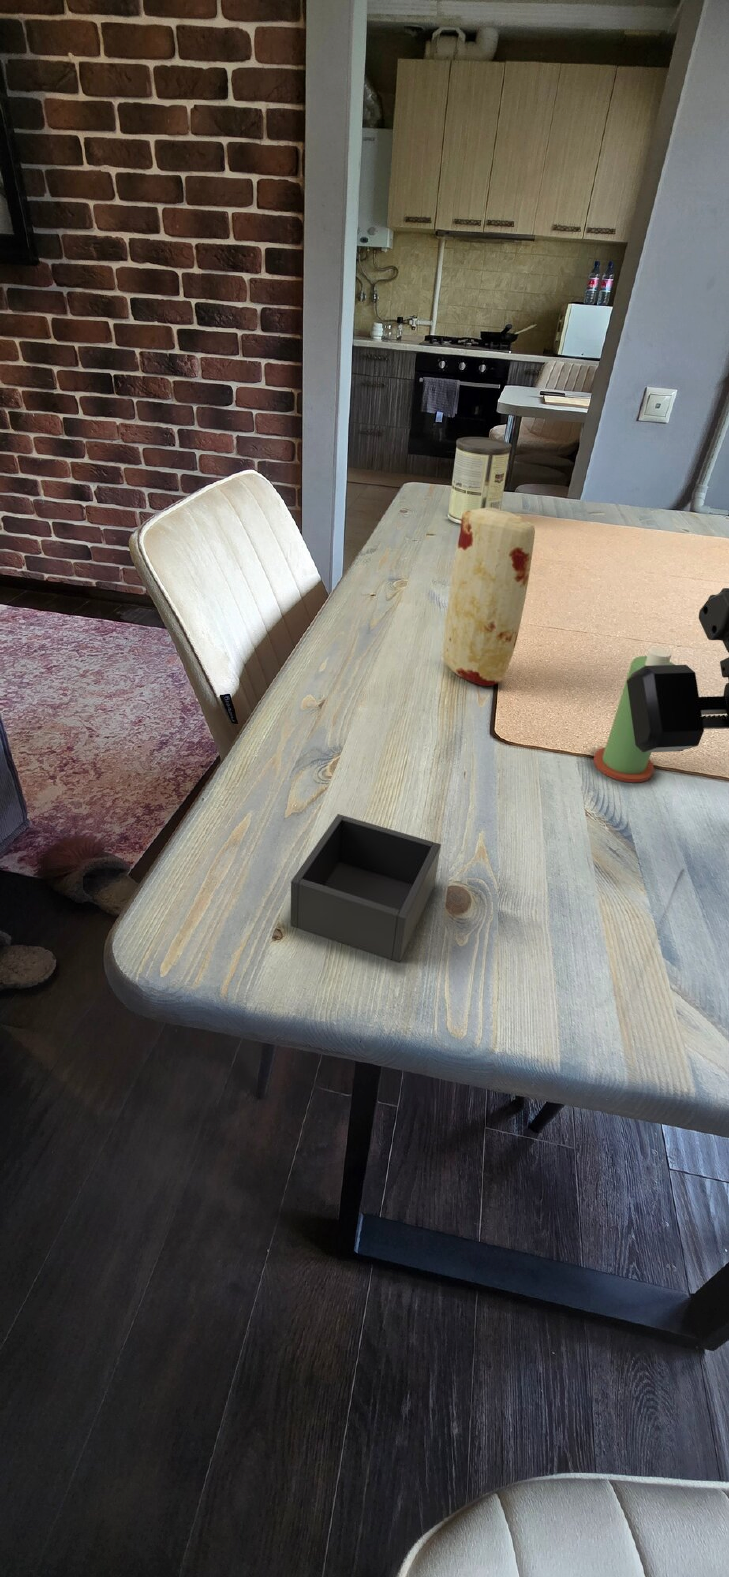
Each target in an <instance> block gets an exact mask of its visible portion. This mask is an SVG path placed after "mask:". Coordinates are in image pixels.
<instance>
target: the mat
mask: <svg viewBox="0 0 729 1577" xmlns="http://www.w3.org/2000/svg"><path fill="white" fill-rule="evenodd" d="M605 748H606V746H605V747H601V748H600V749H598V750H597V751H596V752H595V753H594V758H593V764H594V766H595V767H596V769H597V770H598V771H599V772H600V773H602V774H603V775H605V776H607V777H608V778H611V779H613V780H615V781H619V782H624V783H632V784H634V783H635V784H637V783H642V782H645V781H648V780H649V779H651V777H653V774H654V771H655V767H654V764H653V762H652V761H651V759H649V761H648V764H647V766H646V769H645V770H644V771H643V772H642V773H639V774H625V773H621V772H618V771H615V770H613V769H611V768H610V767H608V766H607V765H606V764H605V763H604V761H603V754H604V751H605Z"/></svg>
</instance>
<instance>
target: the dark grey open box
mask: <svg viewBox="0 0 729 1577" xmlns="http://www.w3.org/2000/svg"><path fill="white" fill-rule="evenodd" d="M441 848H442V844H441V843H439V842H434V841H432V840H429V839H425V838H421V837H418V836H414V835H411V834H408V833H404V832H401V831H398V830H394V829H391V828H387V827H384V826H381V825H378V824H373V823H370V822H367V821H364V820H360V819H357V818H353V817H350V816H348V815H347V816H346V815H343V814H340V813H337V815H336V816H335V817H334V818H333V820H332V822H331V823H330V824H329V826H328V827H327V829H326V830H325V832H324V833H323V834H322V836H321V837H320V839H319V840H318V842H317V843H316V844H315V846H314V847H313V849H312V850H311V852H310V853H309V855H308V856H307V857H306V858H305V860H304V862H303V863H302V865H301V866H300V868H299V869H298V870H297V872H296V873H295V875H294V876H293V877H292V879H291V880H290V927H293V928H296V929H298V930H302V931H304V932H308V933H311V934H313V935H316V936H319V937H323V938H325V939H328V940H330V941H334V942H337V943H340V944H342V945H346V946H348V947H352V948H354V949H357V950H360V951H363V952H366V953H369V954H372V955H374V956H377V957H380V958H383V959H386V960H389V961H391V962H395V963H398V964H400V963H401V961H402V959H403V956H404V954H405V952H406V950H407V947H408V946H409V943H410V941H411V939H412V937H413V934H414V932H415V930H416V928H417V925H418V924H419V922H420V919H421V917H422V915H423V912H424V910H425V909H426V906H427V904H428V901H429V899H430V897H431V894H432V892H433V891H434V888H435V883H436V878H437V872H438V864H439V859H440V853H441Z"/></svg>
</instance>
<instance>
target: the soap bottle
mask: <svg viewBox="0 0 729 1577" xmlns="http://www.w3.org/2000/svg"><path fill="white" fill-rule="evenodd" d="M671 657H672V652H671V651H670V650H668V649H666V648H664V647H663V648H662V647H650V648H649V651H648V654H647V655H641V656H637V657H635V658H633V659H632V660H631V663H630V666H629V669H628V673H627V676H626V680H625V683H624V686H623V689H622V693H621V695H620V699H619V703H618V706H617V708H616V712H615V715H614V718H613V722H612V725H611V729H610V732H609V735H608V738H607V742H606V745H605V747H606V748H605V747H604V748H605V751H604V754H603V761H604V763H605V764H606V765H607V766H608V767H610V768H611V769H613V770H615V771H618V772H621V773H625V774H639V773H642V772H643V771H644V770H645V769H646V766H647V764H648V761H649V760H650V758H651V755H652V752H649V753H643V752H642V751H641V750H640V749H639V748H637V747H636V746H635V739H634V731H633V724H632V717H631V709H630V702H629V695H628V687H627V679H628V678H629V677H630V676H631V674H632V673H634V672H636V671H637V670H639V669H641V668H642V667H644V666H653V665H676V664H674V663H673V662H671Z"/></svg>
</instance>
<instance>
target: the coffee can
mask: <svg viewBox="0 0 729 1577" xmlns="http://www.w3.org/2000/svg"><path fill="white" fill-rule="evenodd" d="M455 442H456V448H455V456H454V457H455V458H454V464H453V472H452V481H451V489H450V495H449V496H450V497H449V505H448V506H449V507H448V513H447V519H448V520H450V521H451V522H454V523H456V524H459V525H461V521H462V515H463V513H464V512H465V511H468V510H476V509H481V508H486V507H490V508H496V509H499V510H502V509H501V507H502V502H503V497H504V495H503V494H504V490H505V484H506V478H507V473H508V472H507V471H508V466H509V461H510V460H509V459H510V454H511V450H512V447H513V445H512V444H511V443H510V442H508V441H505V440H502V439H497V438H492V437H486V436H485V437H483V436H464V437H459V438H458V439H456V441H455Z"/></svg>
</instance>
